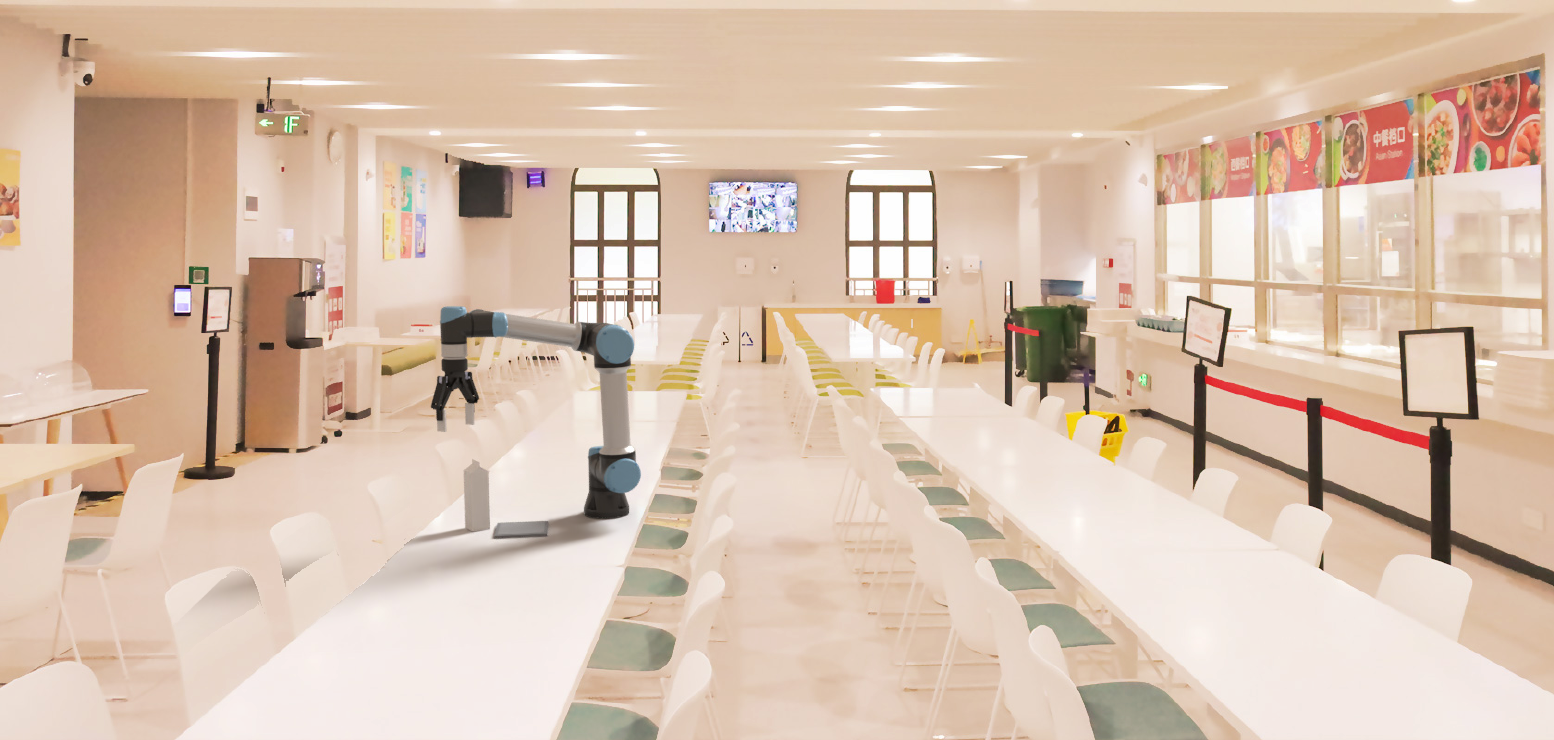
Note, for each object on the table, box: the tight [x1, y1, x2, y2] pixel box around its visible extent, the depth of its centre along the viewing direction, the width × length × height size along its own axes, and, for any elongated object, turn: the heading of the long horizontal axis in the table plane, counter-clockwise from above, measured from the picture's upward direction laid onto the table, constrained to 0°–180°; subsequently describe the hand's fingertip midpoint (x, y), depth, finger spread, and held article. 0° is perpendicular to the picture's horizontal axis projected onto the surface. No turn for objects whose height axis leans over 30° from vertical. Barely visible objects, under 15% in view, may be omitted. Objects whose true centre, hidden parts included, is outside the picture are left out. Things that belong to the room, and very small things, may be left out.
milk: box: [463, 458, 491, 533], centre depth 343 cm, size 6×6×22 cm
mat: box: [493, 520, 549, 539], centre depth 342 cm, size 16×16×1 cm
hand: (456, 428), depth 327 cm, fingers open, 13 cm apart
